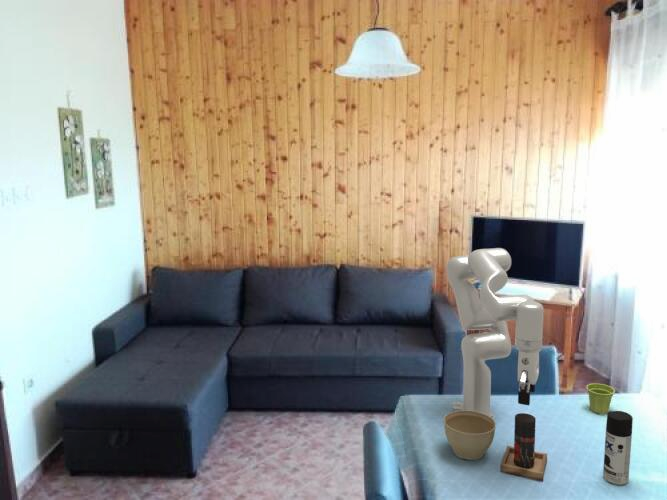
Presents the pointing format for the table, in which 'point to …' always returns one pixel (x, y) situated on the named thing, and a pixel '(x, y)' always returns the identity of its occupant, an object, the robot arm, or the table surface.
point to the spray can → (617, 447)
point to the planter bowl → (469, 433)
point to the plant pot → (600, 397)
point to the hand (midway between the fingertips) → (526, 397)
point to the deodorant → (524, 440)
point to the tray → (531, 473)
